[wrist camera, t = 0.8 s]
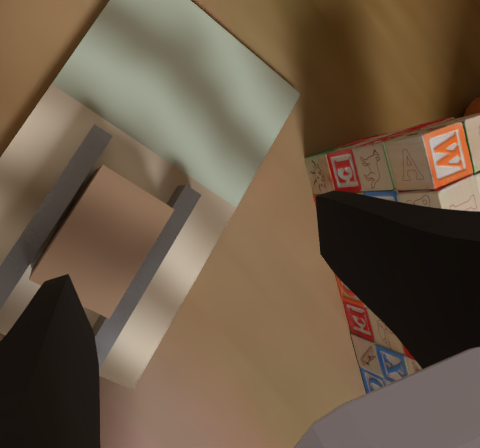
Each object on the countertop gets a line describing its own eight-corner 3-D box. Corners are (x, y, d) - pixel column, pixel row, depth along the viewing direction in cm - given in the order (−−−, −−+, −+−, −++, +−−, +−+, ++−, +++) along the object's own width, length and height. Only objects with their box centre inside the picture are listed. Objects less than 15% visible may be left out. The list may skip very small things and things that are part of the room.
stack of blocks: (418, 365, 40) (563, 429, 29) (365, 398, 38) (501, 480, 26) (362, 136, 36) (503, 105, 25) (301, 156, 34) (425, 132, 23)
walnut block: (101, 303, 28) (109, 318, 24) (31, 269, 26) (28, 279, 22) (158, 209, 29) (174, 209, 25) (95, 170, 27) (102, 164, 23)
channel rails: (88, 371, 27) (91, 383, 26) (-34, 318, 25) (-41, 327, 23) (192, 195, 30) (201, 194, 28) (91, 129, 27) (94, 123, 25)
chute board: (130, 385, 29) (132, 390, 29) (-90, 290, 24) (-94, 292, 23) (295, 96, 33) (300, 93, 33) (137, -37, 28) (139, -44, 28)
